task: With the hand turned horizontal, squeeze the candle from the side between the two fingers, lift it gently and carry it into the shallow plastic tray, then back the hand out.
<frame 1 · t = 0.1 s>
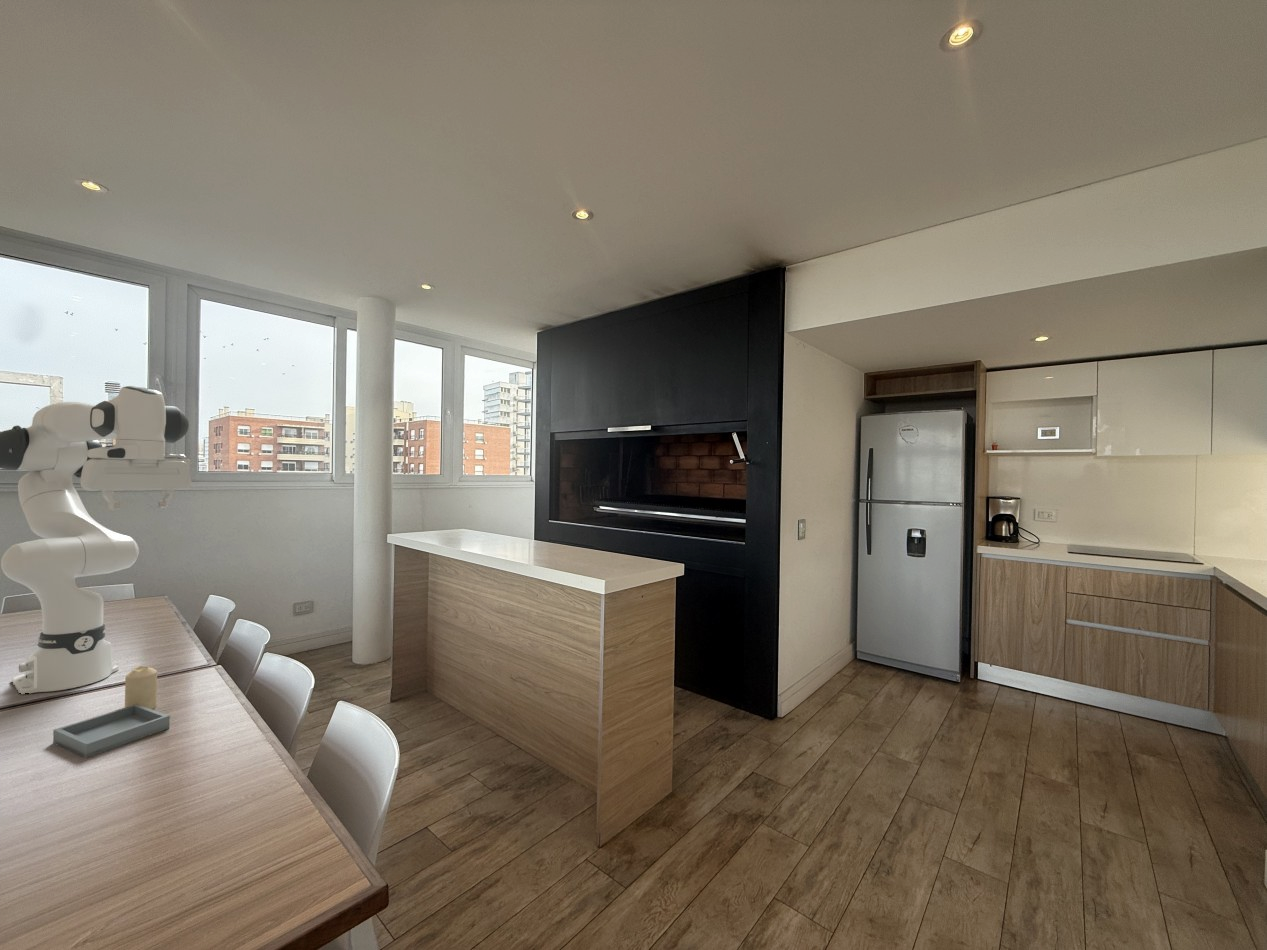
hand: (139, 508, 127), 48 cm above the table, tool pointing down, fingers open, 8 cm apart
candle: (140, 710, 123), on the table
serving tray: (113, 735, 111), on the table
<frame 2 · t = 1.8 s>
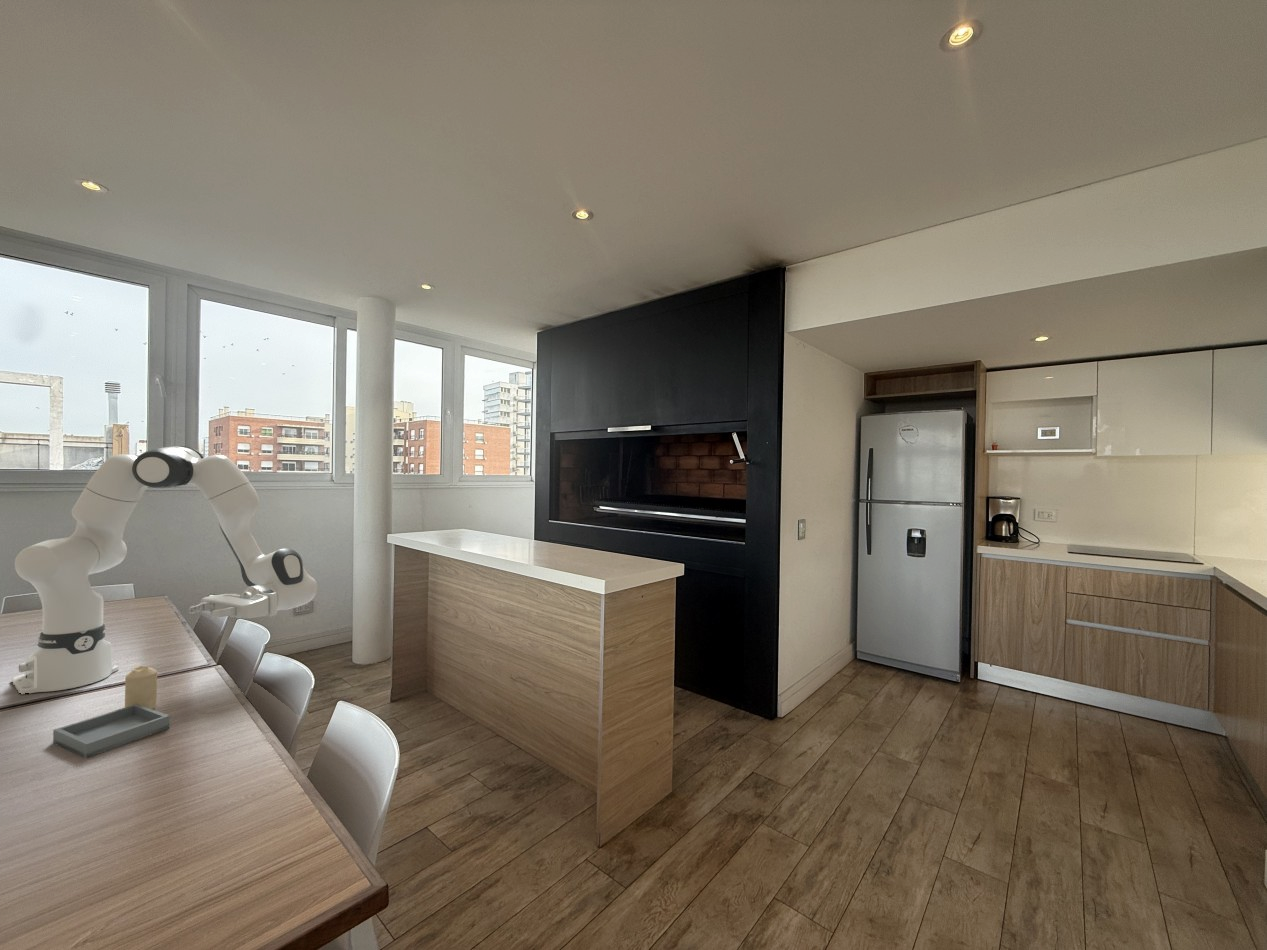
hand: (201, 612, 134), 20 cm above the table, tool horizontal, fingers open, 8 cm apart
nothing on the table moved.
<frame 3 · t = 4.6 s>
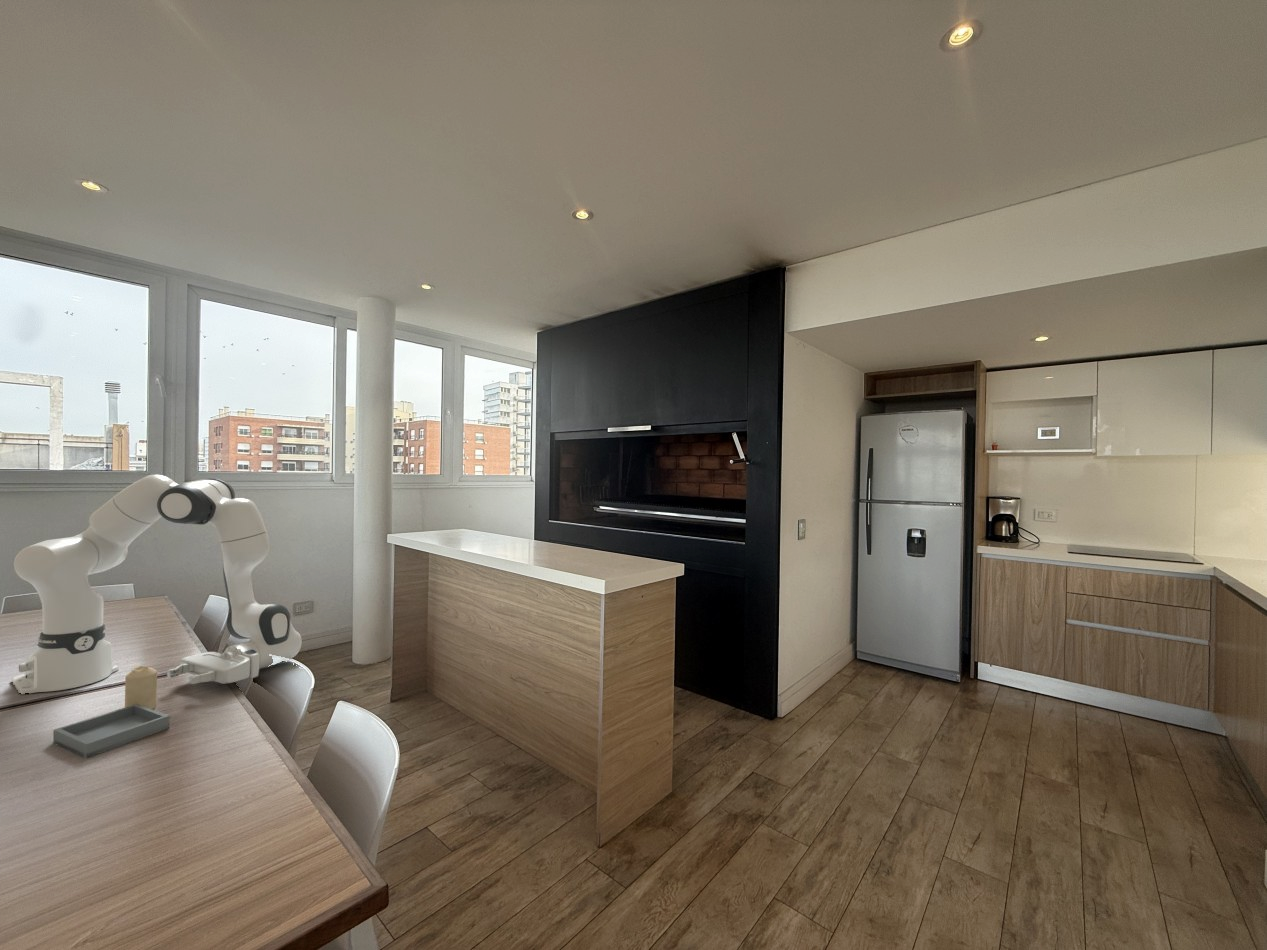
hand: (179, 677, 131), 5 cm above the table, tool horizontal, fingers open, 8 cm apart
nothing on the table moved.
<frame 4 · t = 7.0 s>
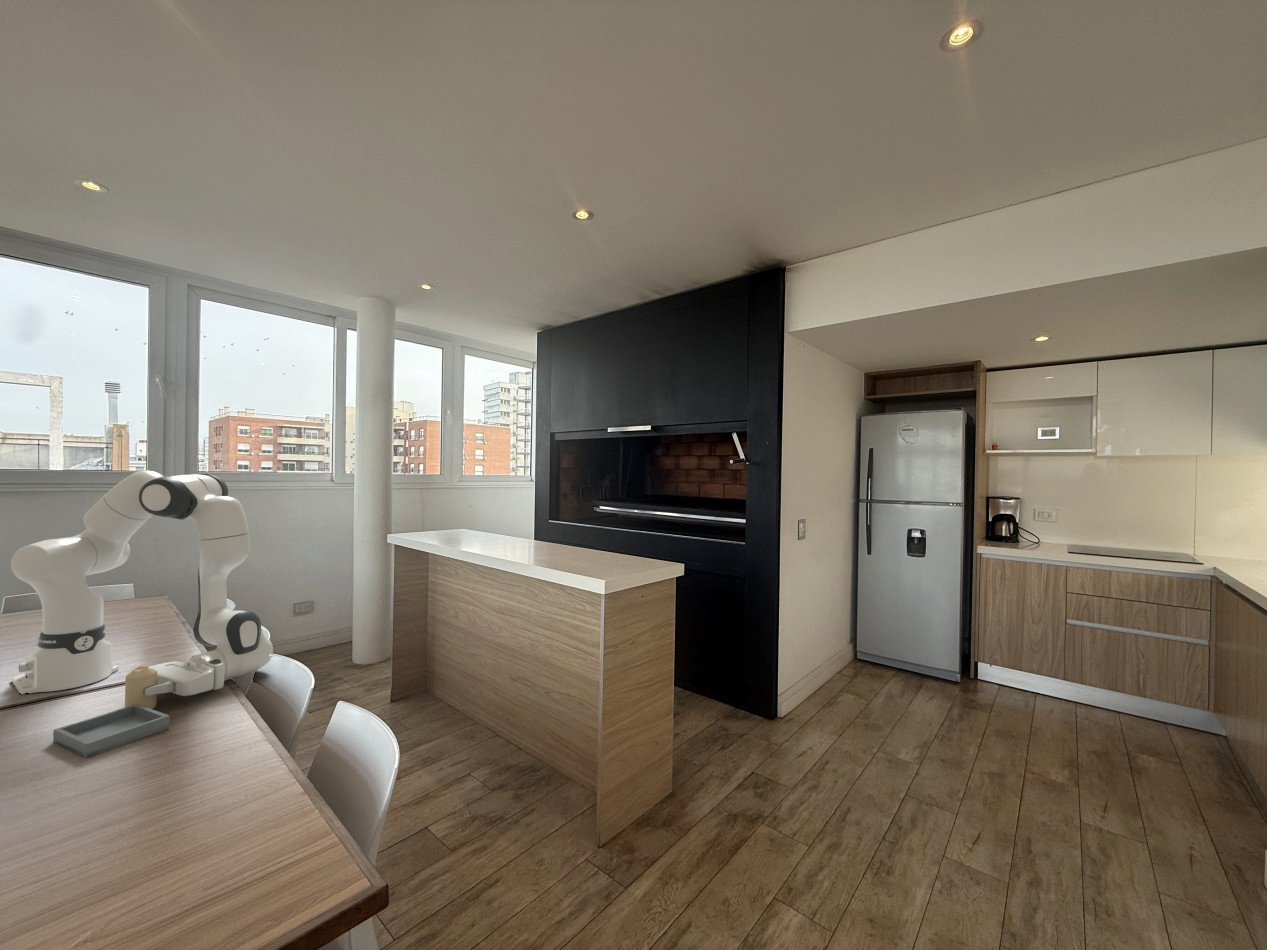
hand: (136, 689, 123), 5 cm above the table, tool horizontal, fingers closed on candle, 5 cm apart
candle: (140, 710, 123), on the table, touching gripper
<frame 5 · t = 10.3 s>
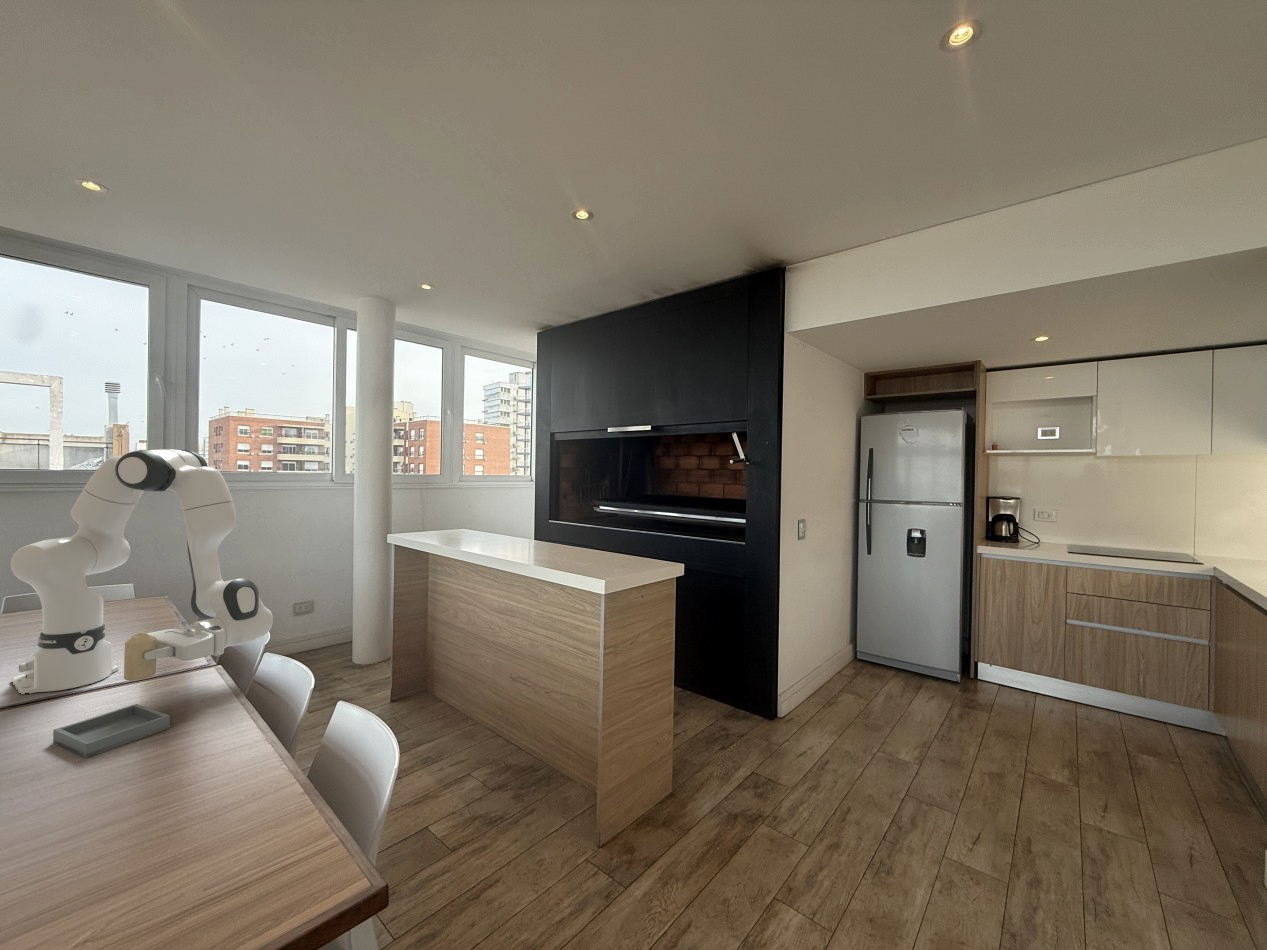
hand: (135, 653, 122), 14 cm above the table, tool horizontal, fingers closed on candle, 5 cm apart
candle: (140, 677, 123), point 8 cm above the table, touching gripper
when the fingers open (7 cm above the table, at t = 13.9 s): candle stays where it is, resting on serving tray.
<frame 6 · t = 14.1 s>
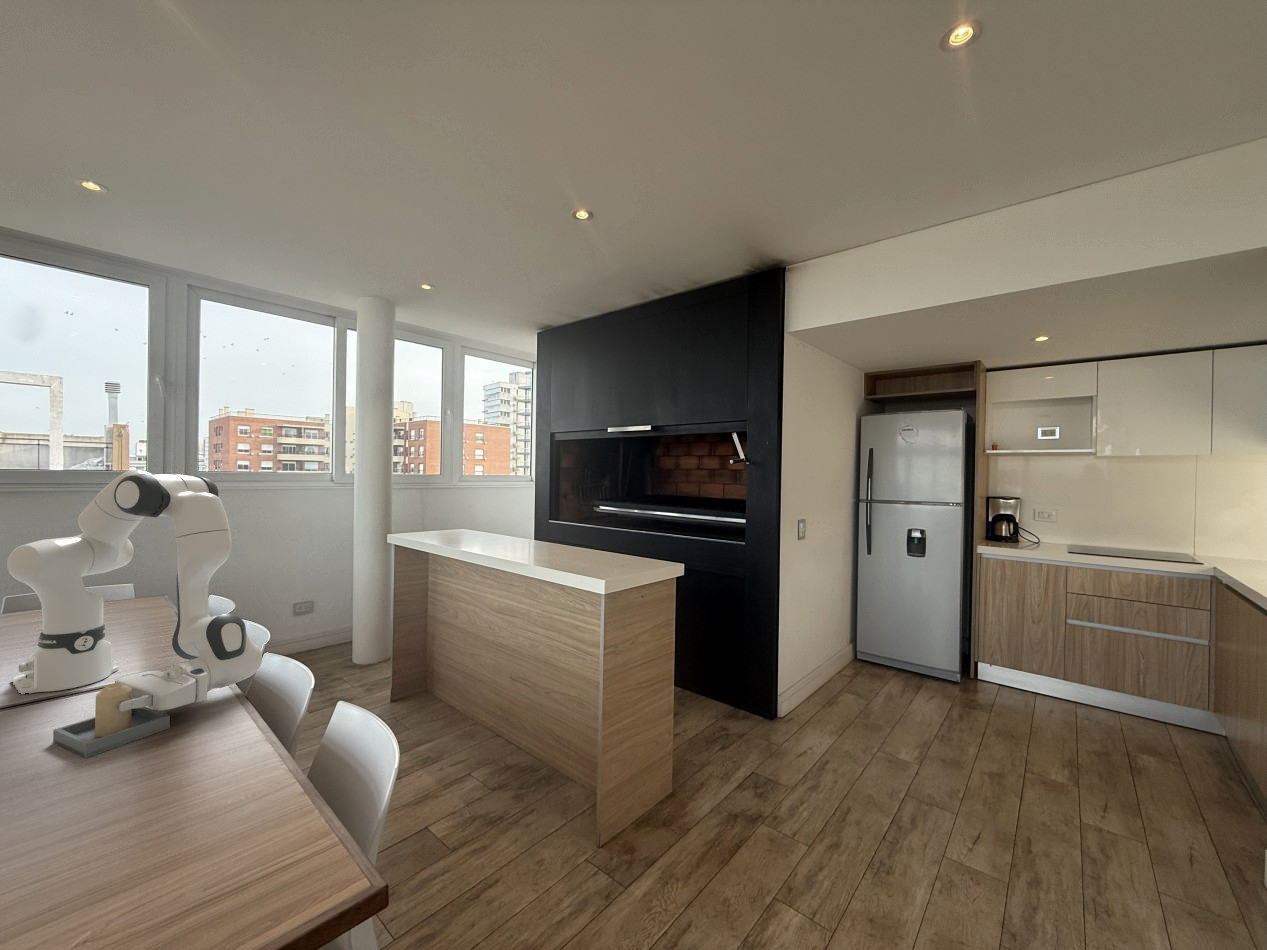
hand: (108, 703, 110), 7 cm above the table, tool horizontal, fingers open, 7 cm apart
candle: (113, 732, 111), point 1 cm above the table, touching serving tray
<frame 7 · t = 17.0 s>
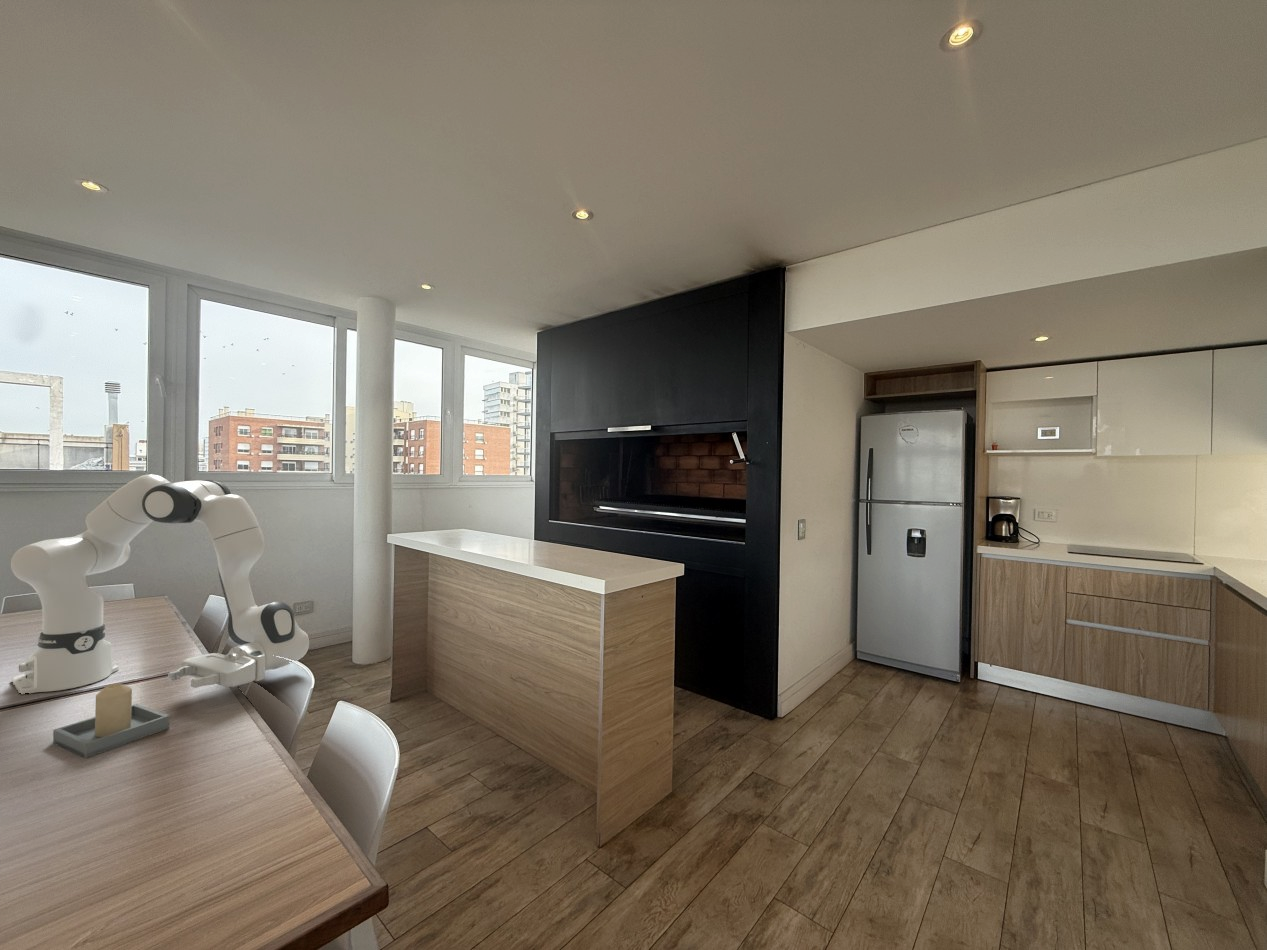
hand: (180, 680, 122), 8 cm above the table, tool horizontal, fingers open, 8 cm apart
nothing on the table moved.
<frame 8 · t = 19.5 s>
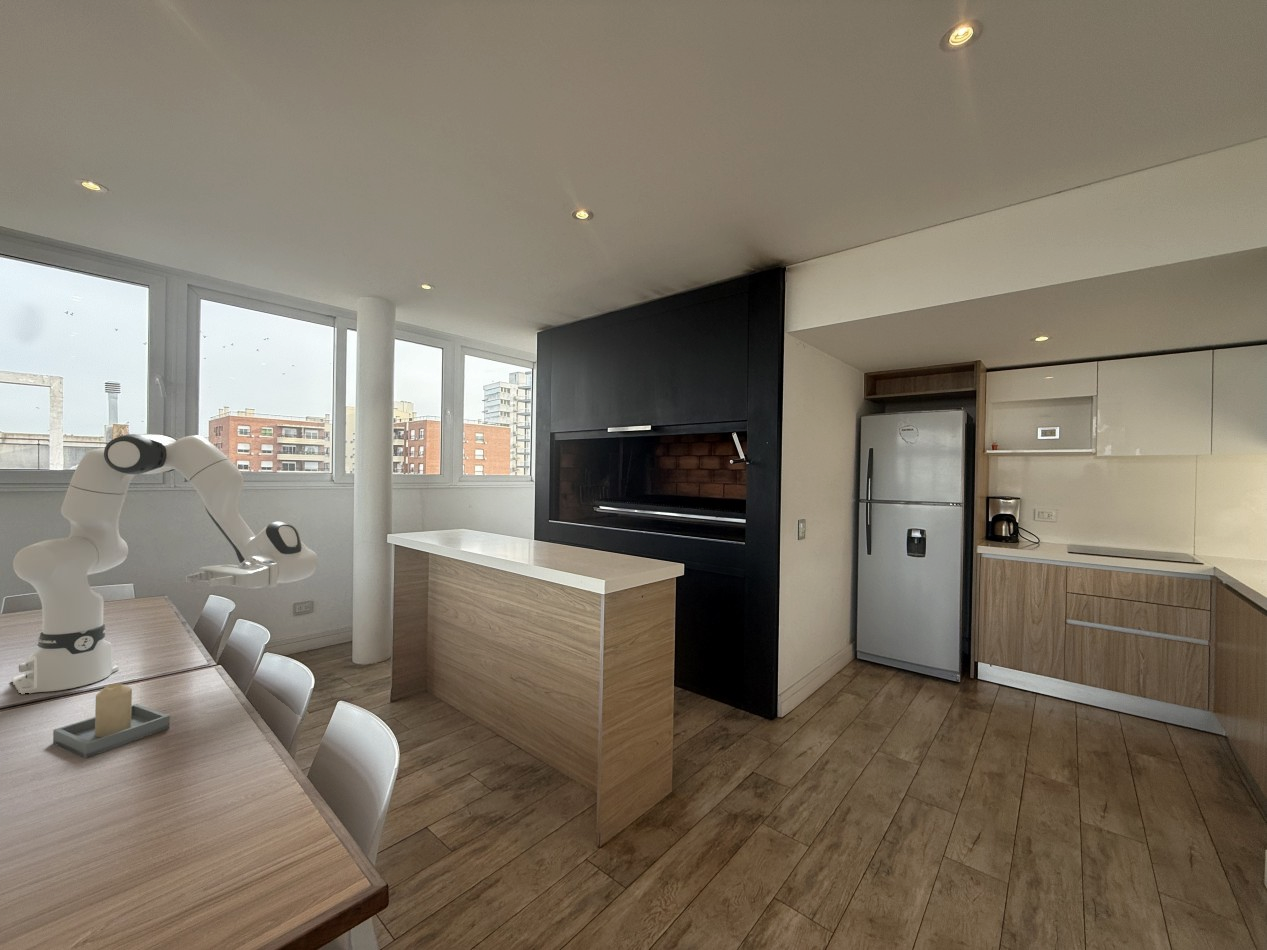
hand: (198, 580, 129), 30 cm above the table, tool horizontal, fingers open, 8 cm apart
nothing on the table moved.
at the end: candle inside the target area on the serving tray (0.1 cm from its centre), point 0.6 cm above the serving tray's base; candle tilted 0°; the gripper is holding nothing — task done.
